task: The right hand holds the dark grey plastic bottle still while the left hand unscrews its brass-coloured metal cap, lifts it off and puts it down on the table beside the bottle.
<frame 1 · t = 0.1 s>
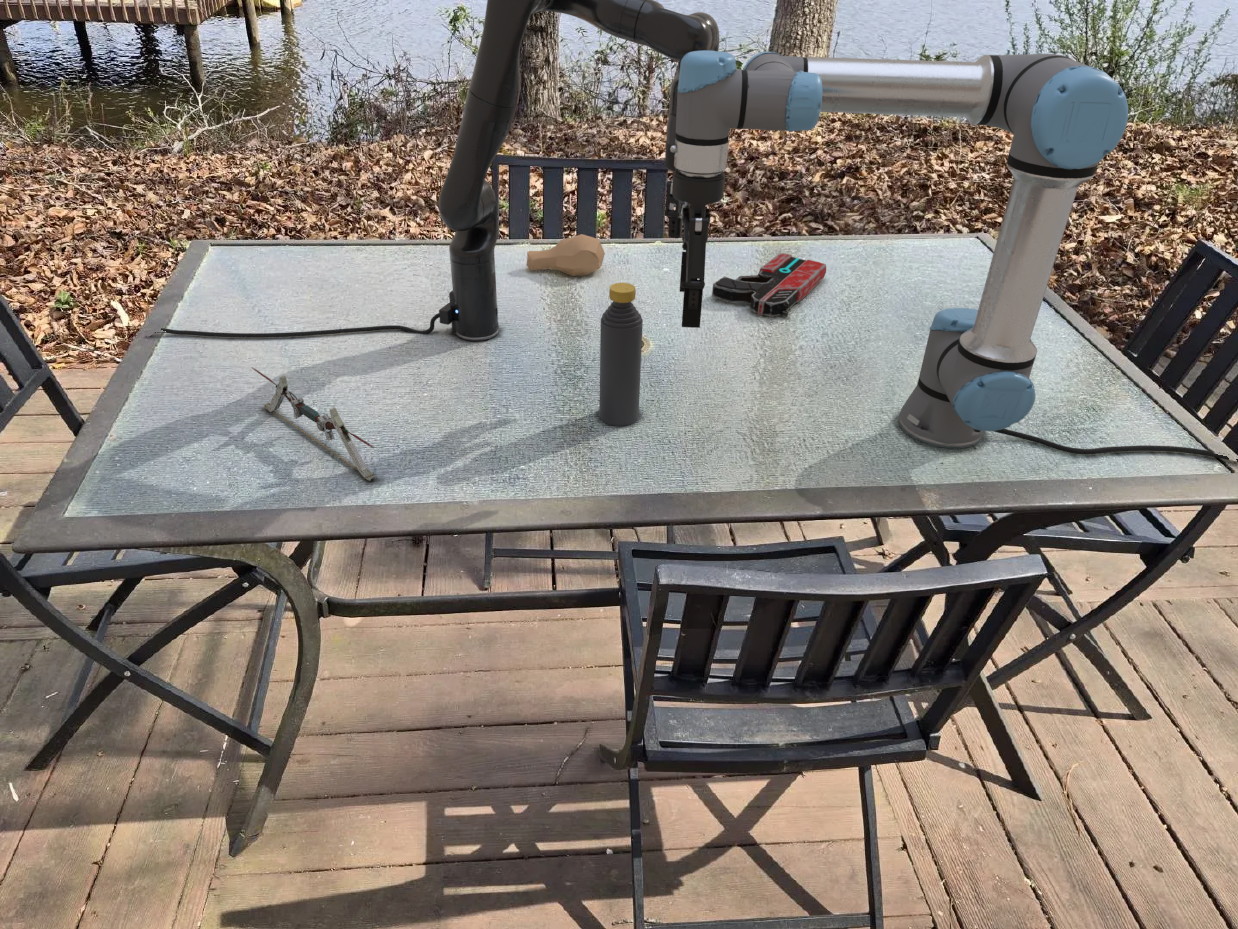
left hand: (681, 230, 164), 29 cm above the table, tool pointing down, fingers open, 8 cm apart
right hand: (689, 308, 138), 28 cm above the table, tool pointing down, fingers open, 13 cm apart
cap: (622, 289, 150), point 25 cm above the table, screwed on, not yet turned
bottle: (618, 415, 164), on the table
bow: (317, 442, 154), on the table
squash: (565, 271, 224), on the table
gun: (770, 291, 216), on the table
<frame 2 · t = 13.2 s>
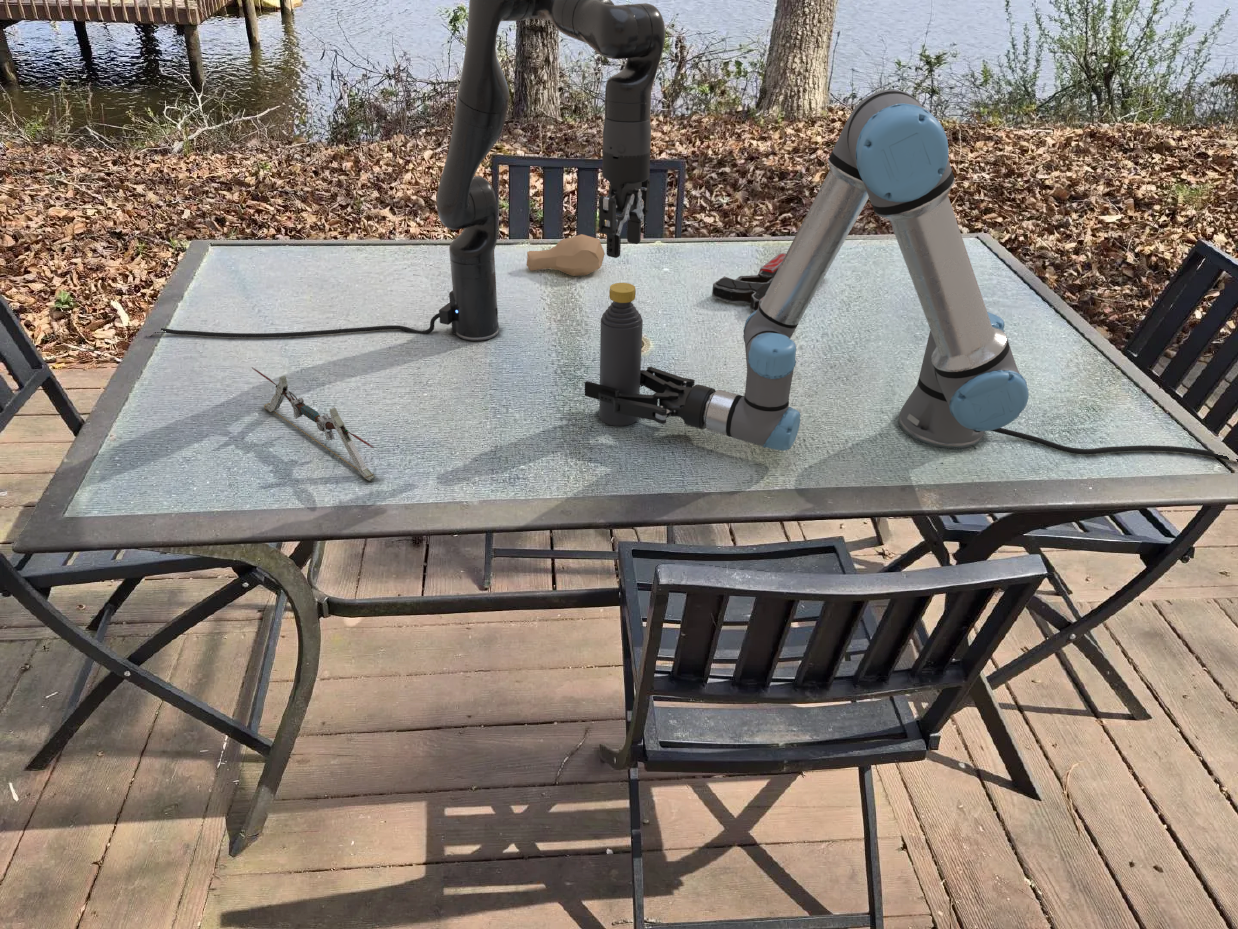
left hand: (623, 249, 146), 32 cm above the table, tool pointing down, fingers open, 7 cm apart
right hand: (596, 379, 162), 7 cm above the table, tool horizontal, fingers closed on bottle, 7 cm apart
bottle: (618, 416, 164), on the table, touching right hand
everything else where it was.
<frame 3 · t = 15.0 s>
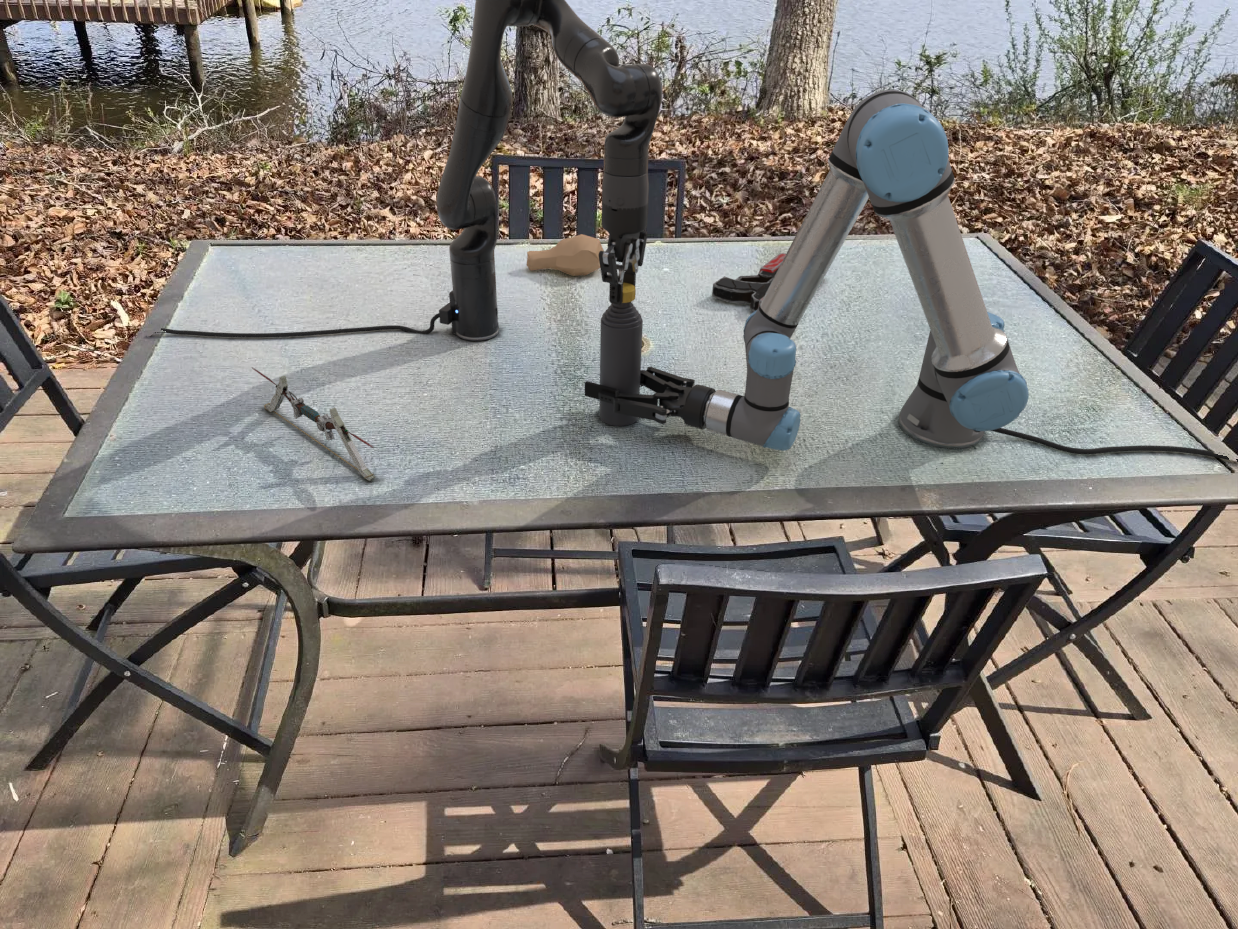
left hand: (622, 297, 151), 24 cm above the table, tool pointing down, fingers closed on cap, 4 cm apart
right hand: (596, 379, 162), 7 cm above the table, tool horizontal, fingers closed on bottle, 7 cm apart
cap: (622, 289, 150), point 25 cm above the table, screwed on, not yet turned, touching left hand
bottle: (618, 416, 164), on the table, touching right hand
everything else where it was.
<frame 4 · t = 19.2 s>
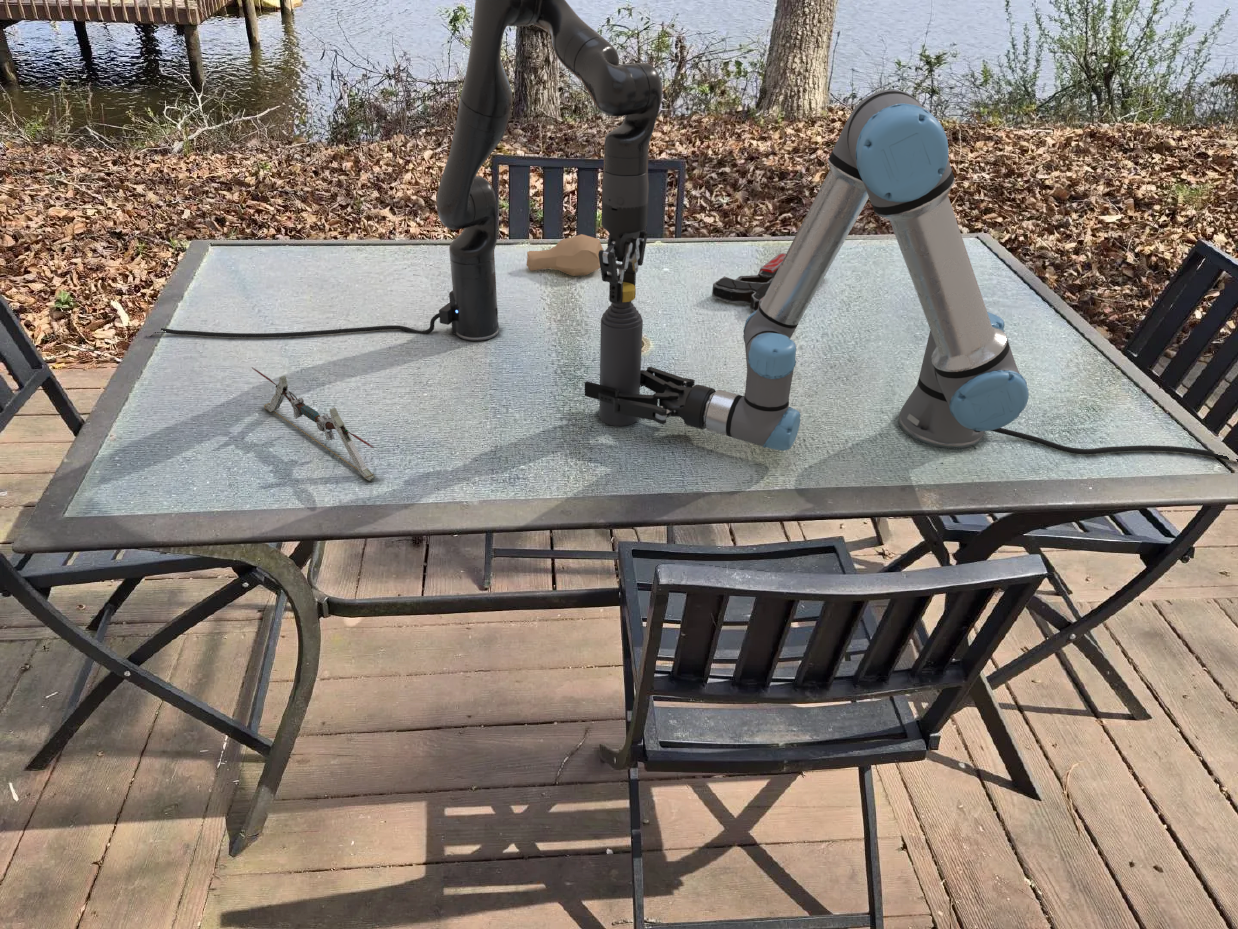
left hand: (622, 297, 151), 24 cm above the table, tool pointing down, fingers closed on cap, 4 cm apart
right hand: (596, 379, 162), 6 cm above the table, tool horizontal, fingers closed on bottle, 7 cm apart
cap: (622, 288, 150), point 25 cm above the table, turned 106° so far, risen 0.1 cm, still on its thread, touching left hand
bottle: (618, 416, 164), on the table, touching right hand
everything else where it was.
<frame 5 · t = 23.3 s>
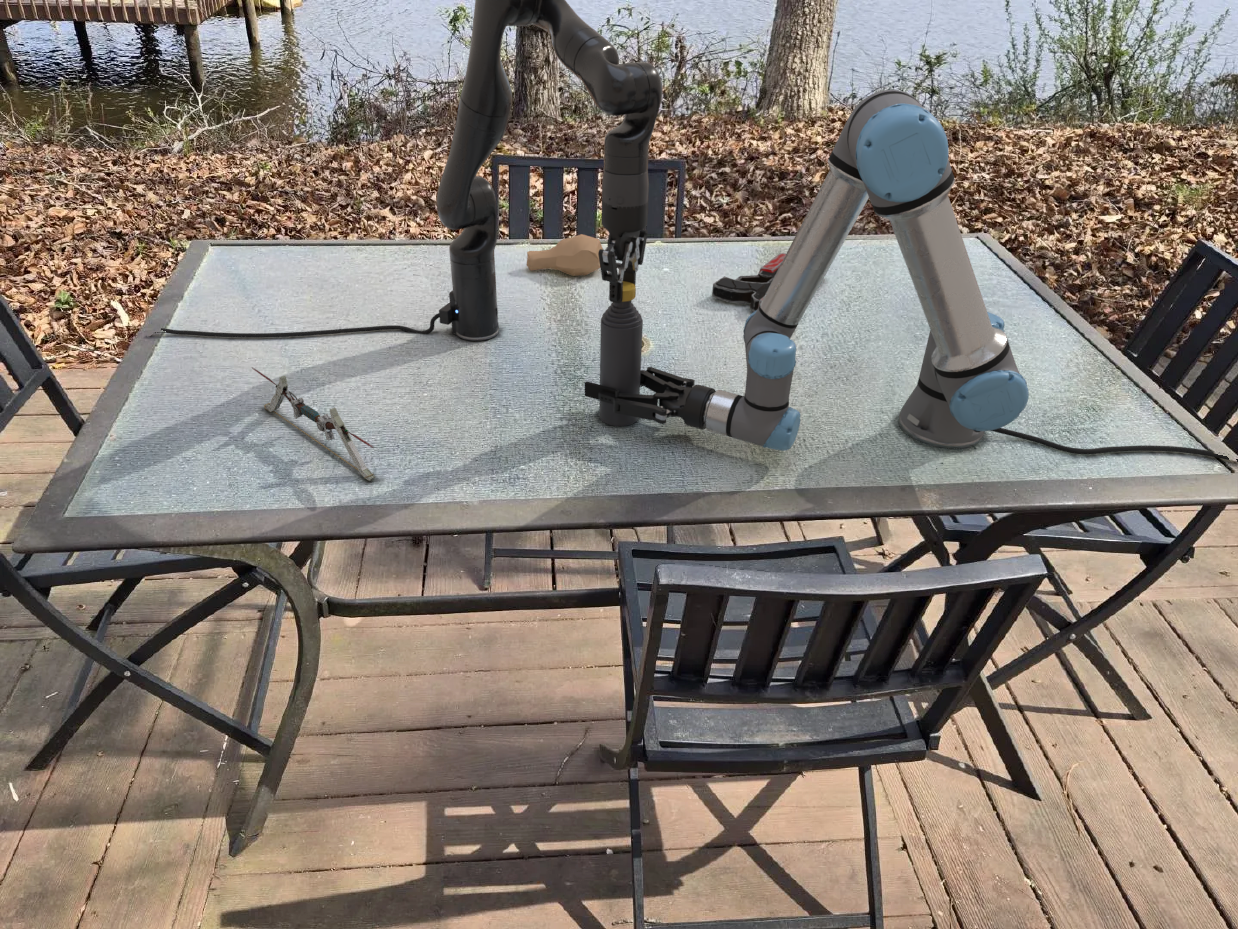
left hand: (622, 296, 151), 24 cm above the table, tool pointing down, fingers closed on cap, 4 cm apart
right hand: (596, 379, 162), 6 cm above the table, tool horizontal, fingers closed on bottle, 7 cm apart
cap: (622, 287, 150), point 26 cm above the table, turned 213° so far, risen 0.3 cm, still on its thread, touching left hand
bottle: (618, 416, 164), on the table, touching right hand
everything else where it was.
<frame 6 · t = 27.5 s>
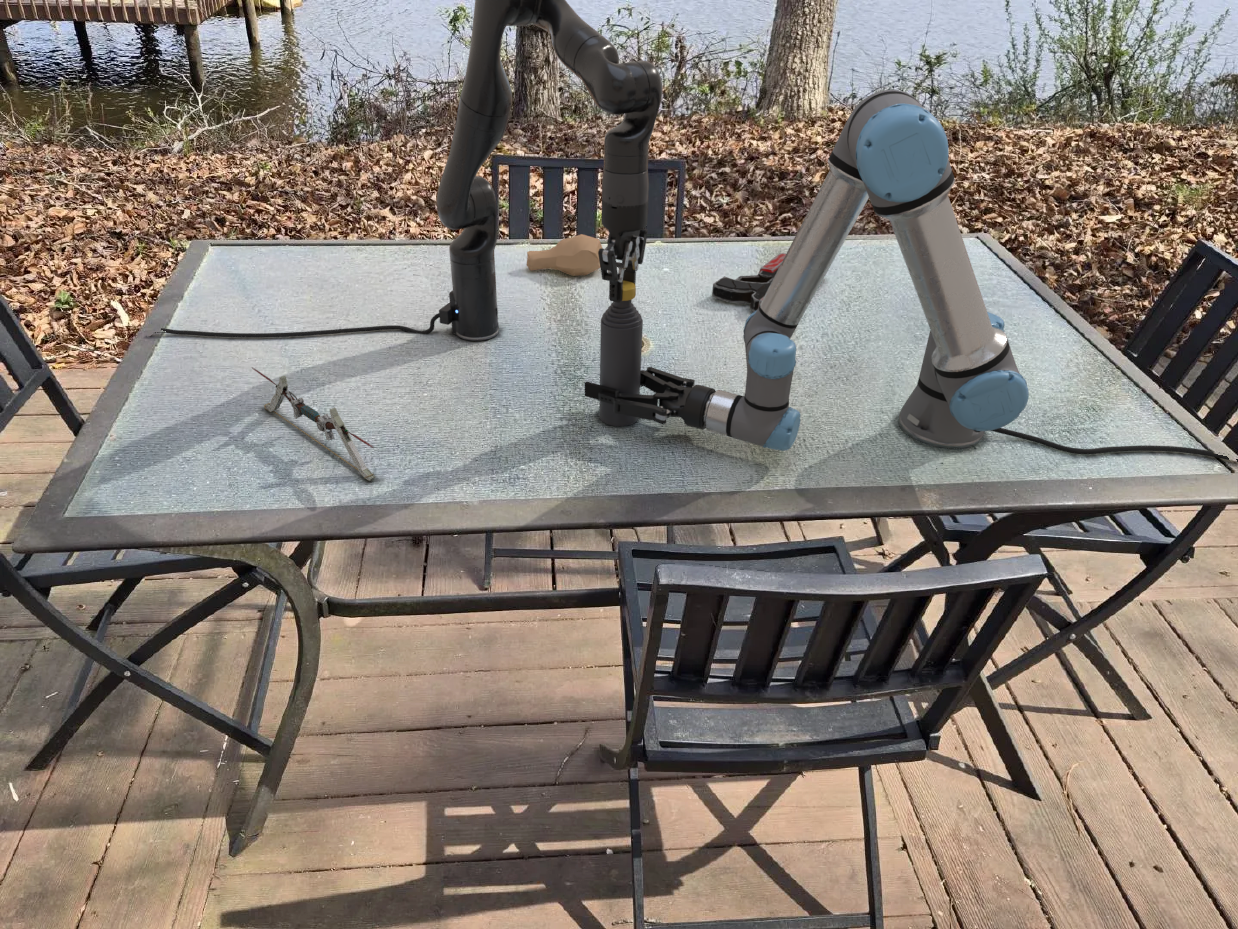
left hand: (622, 295, 151), 24 cm above the table, tool pointing down, fingers closed on cap, 4 cm apart
right hand: (596, 379, 162), 6 cm above the table, tool horizontal, fingers closed on bottle, 7 cm apart
cap: (622, 287, 150), point 26 cm above the table, turned 319° so far, risen 0.4 cm, still on its thread, touching left hand
bottle: (618, 416, 164), on the table, touching right hand
everything else where it was.
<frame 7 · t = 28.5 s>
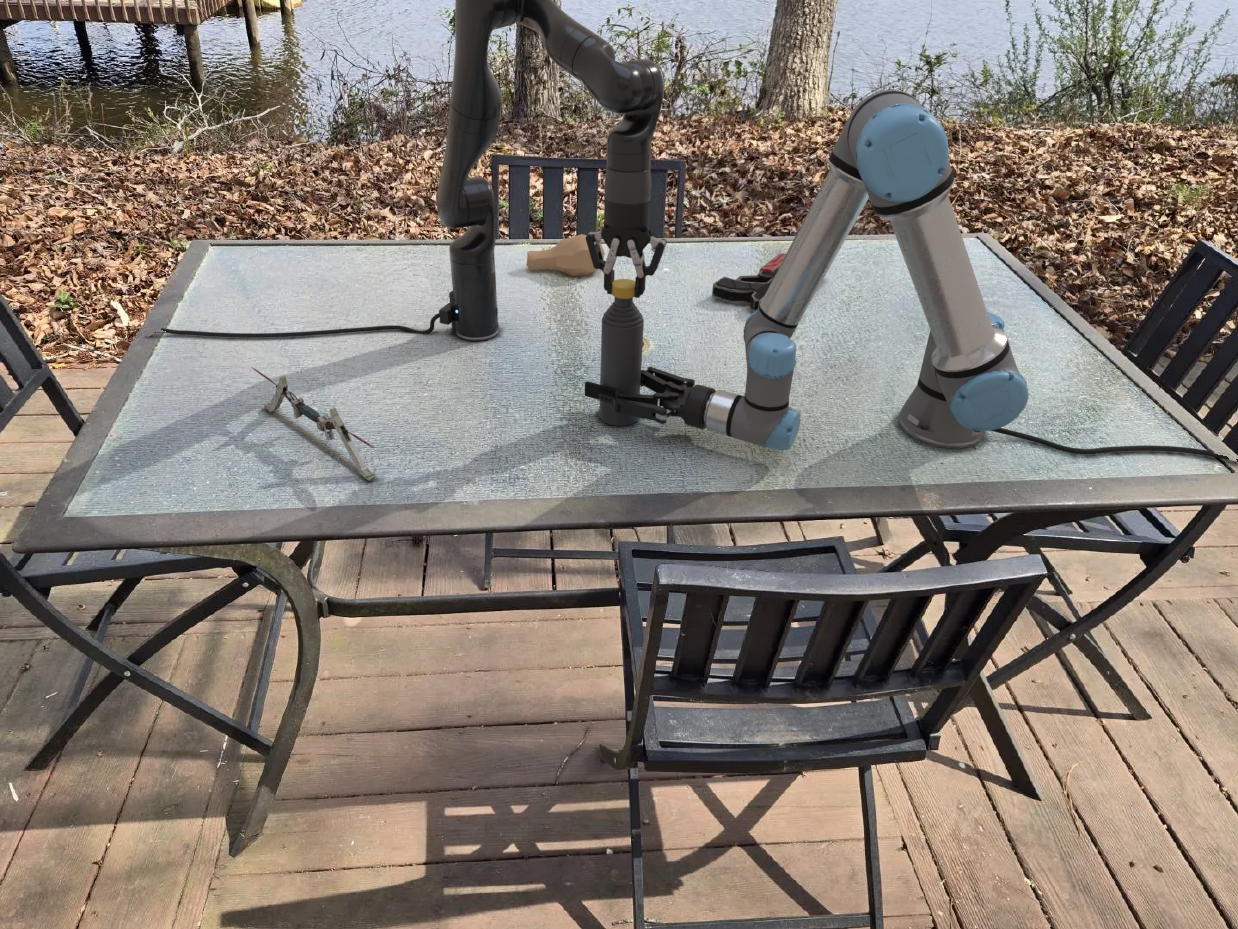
left hand: (624, 293, 151), 24 cm above the table, tool pointing down, fingers closed on cap, 4 cm apart
right hand: (596, 379, 162), 6 cm above the table, tool horizontal, fingers closed on bottle, 7 cm apart
cap: (624, 285, 150), point 26 cm above the table, off its thread, touching left hand
bottle: (618, 416, 164), on the table, touching right hand
everything else where it was.
when the left hand's fingers open (1 cm above the table, at t = 36.1 s): cap stays where it is, point 2 cm above the table.
when the right hand's fingers open (7 cm above the table, at t = 37.2 s): bottle stays where it is, on the table.
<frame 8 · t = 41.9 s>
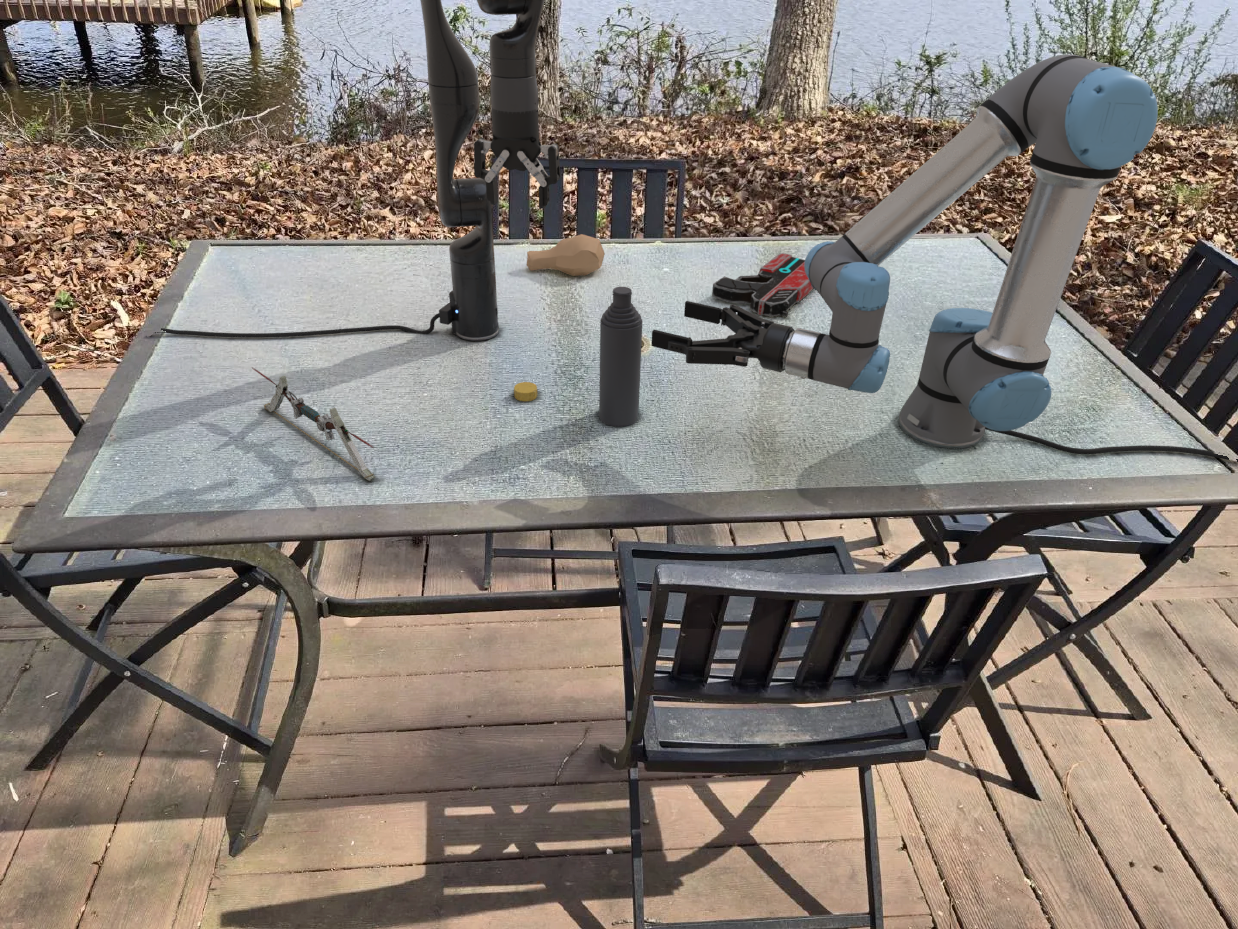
left hand: (518, 205, 149), 37 cm above the table, tool pointing down, fingers open, 8 cm apart
right hand: (669, 322, 149), 21 cm above the table, tool horizontal, fingers open, 13 cm apart
cap: (525, 388, 169), point 2 cm above the table, off its thread
bottle: (618, 416, 164), on the table
everything else where it was.
at the end: cap came off its thread; cap point 1.6 cm above the table; the left hand is holding nothing; the right hand is holding nothing; bottle tilted 0°; bottle moved 0.2 cm from its start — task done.
